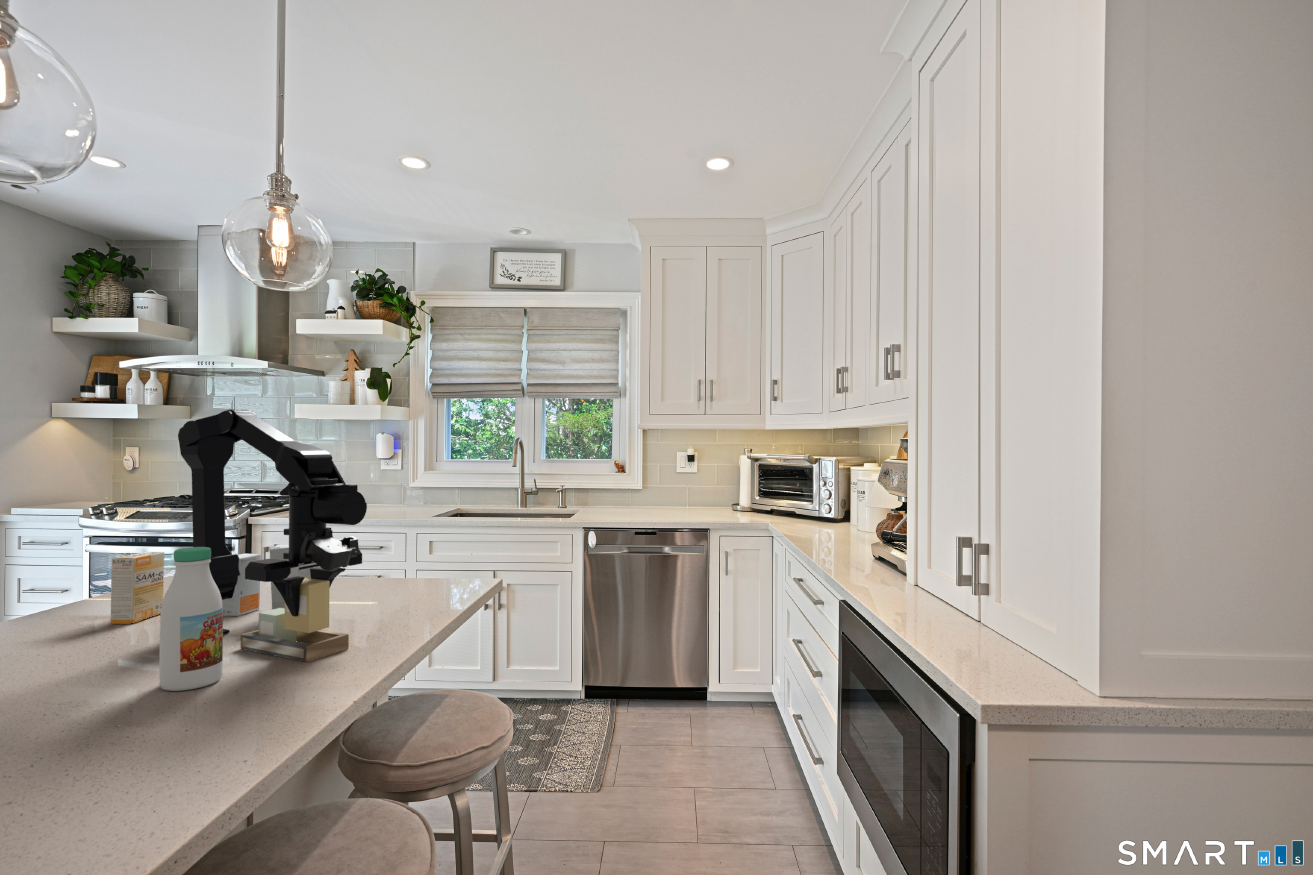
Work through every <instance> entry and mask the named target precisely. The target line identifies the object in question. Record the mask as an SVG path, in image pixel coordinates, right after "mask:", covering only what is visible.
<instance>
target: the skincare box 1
mask: <svg viewBox="0 0 1313 875" xmlns="http://www.w3.org/2000/svg"><path fill="white" fill-rule="evenodd" d="M237 555H238V557H239V572H240V576H238V581H237V584H236V586H235V590H234V593H233V597H232V598H230V599H224V600H222V609H223V616H224V617H225V616H226V617H228V616H229V617H230V616H231V617H239V616H242V615H245V614H249V613H253V612H257V611H259V610H260V607H261V606H260V599H261V598H260V597H261V596H260V595H261V594H260V593H261V581H255V580H248V579H245V568H246V566H247V565H248V564H249V562H251V561H257V560H262V559H261V554H260V553H259V554H258V553H240V554H237ZM256 610H257V611H256Z"/></svg>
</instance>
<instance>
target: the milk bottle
mask: <svg viewBox="0 0 1313 875" xmlns="http://www.w3.org/2000/svg"><path fill="white" fill-rule="evenodd" d="M210 558H211V548H209V547H193V546H191V547H182V548H178V549H175V550H174V552H173V565H174V567H175V570H174V575H173V578H172V580H171V583H170V585H169V586H168V588H167V590H166V591H165V593H164V595H163V602H162V606H161V614H160V617H159V618H160V621H159V677H158V678H159V686H160V688H161V689H162V690H163V691H170V692H179V691H180V692H181V691H189V690H195V689H199V688H200V689H201V688H203V687H206V686H210V685H212V684H215V683H218V681H219V680H220V679H222V676H223V668H224V667H223V662H224V660H223V656H224V655H223V653H224V650H223V649H224V648H223V647H224V645H223V644H224V639H223V638H224V636H223V635H224V634H223V629H224V628H223V627H224V625H223V624H224V620H223V619H224V615H223V609H222V598H221V594H220V591H219V589H218V587H217V585H216V583H215V582H214V580H213V578H212V575H211V572H210V569H209V563H210V562H211V559H210Z"/></svg>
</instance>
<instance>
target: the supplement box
mask: <svg viewBox="0 0 1313 875" xmlns="http://www.w3.org/2000/svg"><path fill="white" fill-rule="evenodd" d="M164 570H165V552H164V551H143V552H139V553H133V554H132V553H131V554H128V555H123V556H116V557H112V558H111V576H110V579H111V581H110V582H111V584H110V585H111V586H110V624H113V625H114V624H115V625H120V624H121V625H123V624H124V625H125V624H126V625H130V624H131V623H133V624H136V623H138V621H139V622H142V621H144V620H143V619H145V620H148V619H150V618H153V617H156V616H159V614H160V615H161V606H162V602H163V599H164V591H165V590H164V583H165V582H164V580H165V579H164V576H165V575H164V573H165V571H164ZM152 616H153V617H152ZM149 617H150V618H149ZM147 618H148V619H147ZM141 620H142V621H141ZM135 622H136V623H135ZM131 625H132V624H131Z"/></svg>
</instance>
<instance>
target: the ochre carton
mask: <svg viewBox="0 0 1313 875" xmlns="http://www.w3.org/2000/svg"><path fill="white" fill-rule="evenodd" d="M330 588H331V586H330V581H327V580H319V579H311V578H304V580H303V582H302V583H301V585H300V599H299V614H298V616H297V617H295V616H292V615H291V613H290V611H289V609H288V607H287V605H286V603H285V613H284V629H288V630H294V631H300V632H305V633H311V632H314V631H318V630H325V629H328V628H330Z"/></svg>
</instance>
